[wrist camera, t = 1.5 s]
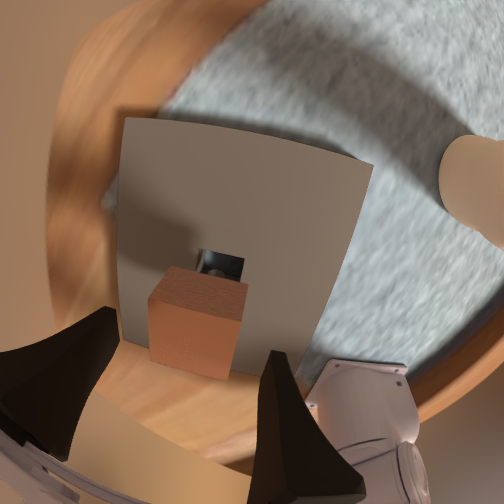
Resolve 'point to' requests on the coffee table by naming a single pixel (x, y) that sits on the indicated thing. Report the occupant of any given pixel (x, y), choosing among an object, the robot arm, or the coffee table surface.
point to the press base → (235, 225)
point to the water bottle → (475, 185)
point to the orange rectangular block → (196, 321)
